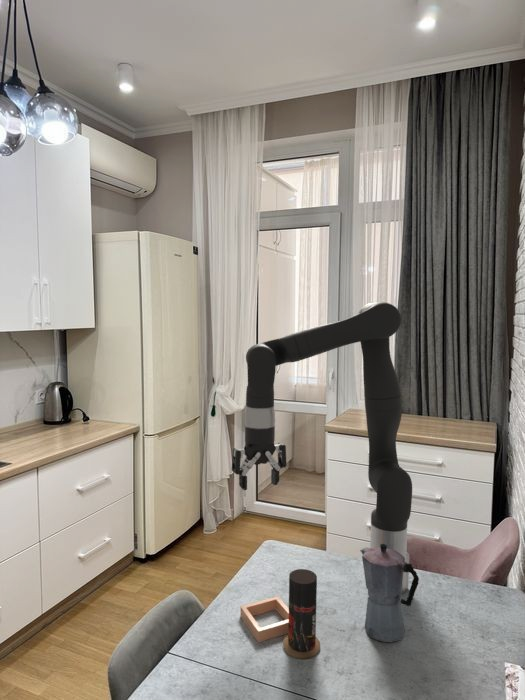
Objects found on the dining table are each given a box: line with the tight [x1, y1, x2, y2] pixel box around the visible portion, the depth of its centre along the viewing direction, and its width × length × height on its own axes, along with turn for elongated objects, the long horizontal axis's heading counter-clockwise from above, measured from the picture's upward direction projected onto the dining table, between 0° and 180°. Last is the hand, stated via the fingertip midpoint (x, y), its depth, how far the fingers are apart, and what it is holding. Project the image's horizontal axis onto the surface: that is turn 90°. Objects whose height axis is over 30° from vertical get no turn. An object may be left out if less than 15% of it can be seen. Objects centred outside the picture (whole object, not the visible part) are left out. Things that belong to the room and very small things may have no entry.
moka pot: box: [359, 544, 420, 643], centre depth 109 cm, size 10×15×20 cm, turn 44°
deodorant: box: [287, 568, 318, 652], centre depth 104 cm, size 6×6×15 cm
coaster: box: [282, 634, 321, 660], centre depth 104 cm, size 8×8×1 cm
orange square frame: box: [239, 595, 289, 643], centre depth 112 cm, size 10×10×2 cm
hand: (259, 486), depth 122 cm, fingers open, 8 cm apart
